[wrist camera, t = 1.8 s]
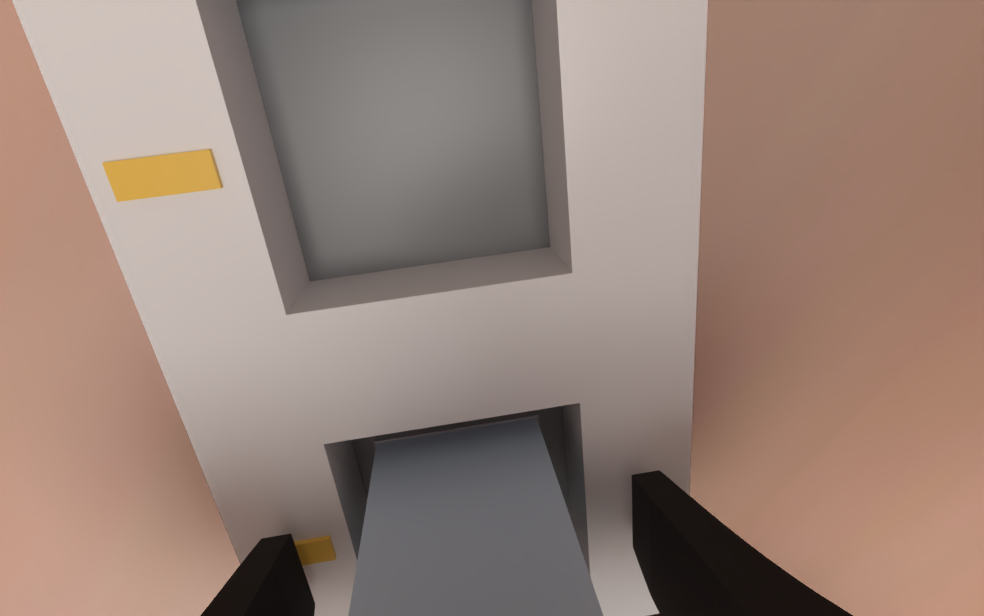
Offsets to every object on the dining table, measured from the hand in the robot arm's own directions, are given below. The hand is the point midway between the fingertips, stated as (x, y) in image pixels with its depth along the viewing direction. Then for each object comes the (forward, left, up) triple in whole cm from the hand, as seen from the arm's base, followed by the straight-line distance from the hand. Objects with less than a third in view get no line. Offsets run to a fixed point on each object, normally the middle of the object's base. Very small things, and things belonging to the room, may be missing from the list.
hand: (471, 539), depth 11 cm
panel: (0, -4, -3) cm, 5 cm away
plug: (0, 0, -2) cm, 2 cm away
